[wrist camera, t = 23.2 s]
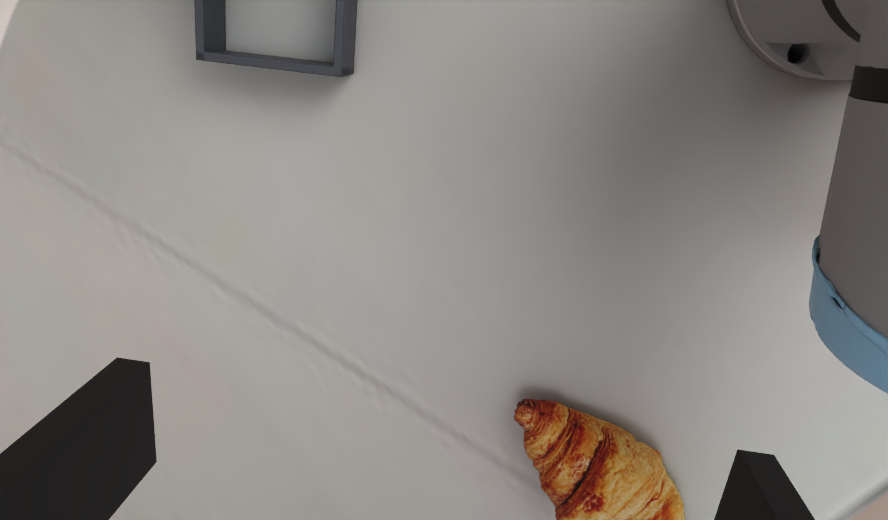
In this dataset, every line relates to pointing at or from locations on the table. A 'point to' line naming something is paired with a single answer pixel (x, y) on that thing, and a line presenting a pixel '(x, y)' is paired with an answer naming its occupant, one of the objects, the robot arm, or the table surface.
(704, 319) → the table surface
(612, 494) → the croissant
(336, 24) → the rectangular tray
